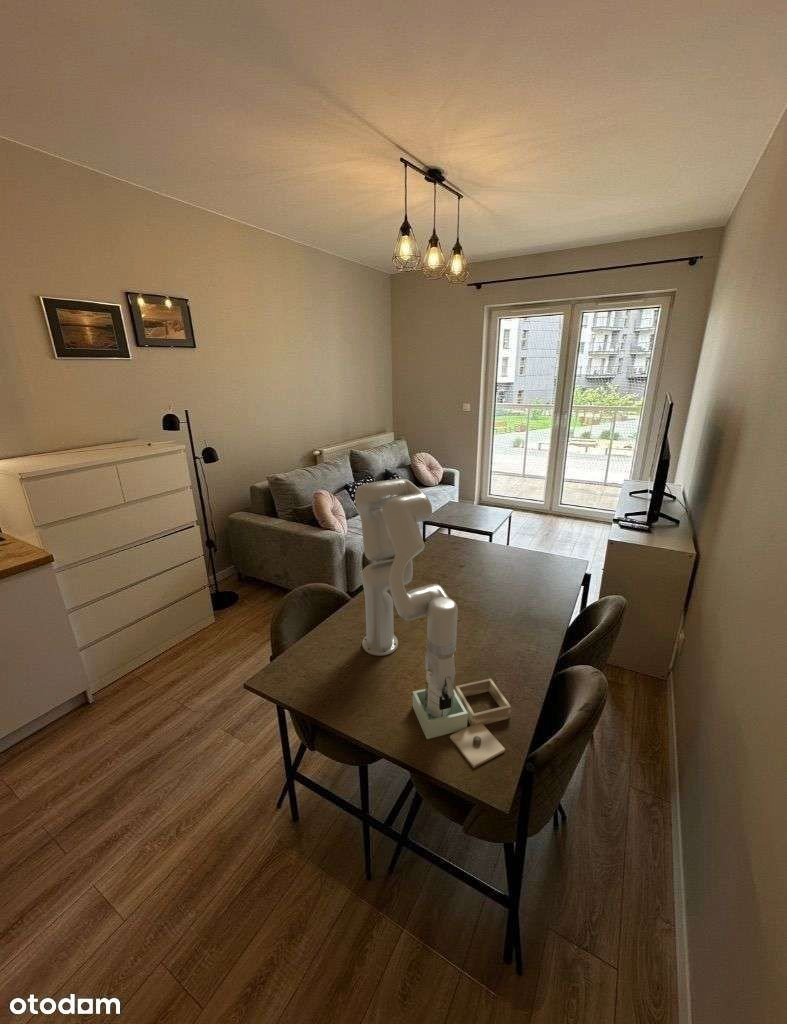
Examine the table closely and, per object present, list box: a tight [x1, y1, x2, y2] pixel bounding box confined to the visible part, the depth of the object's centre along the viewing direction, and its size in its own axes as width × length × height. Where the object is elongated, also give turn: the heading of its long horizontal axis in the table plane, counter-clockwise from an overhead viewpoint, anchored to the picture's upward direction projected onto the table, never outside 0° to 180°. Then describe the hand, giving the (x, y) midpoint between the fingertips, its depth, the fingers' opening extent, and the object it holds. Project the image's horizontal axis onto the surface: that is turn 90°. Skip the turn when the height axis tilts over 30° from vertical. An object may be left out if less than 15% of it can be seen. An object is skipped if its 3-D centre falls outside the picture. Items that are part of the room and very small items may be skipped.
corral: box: [454, 678, 512, 726], centre depth 119 cm, size 12×12×4 cm
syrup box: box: [424, 669, 455, 718], centre depth 114 cm, size 6×6×14 cm
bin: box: [412, 688, 468, 740], centre depth 116 cm, size 12×12×6 cm
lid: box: [449, 723, 506, 769], centre depth 108 cm, size 10×10×2 cm
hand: (439, 696), depth 114 cm, fingers closed on syrup box, 7 cm apart
